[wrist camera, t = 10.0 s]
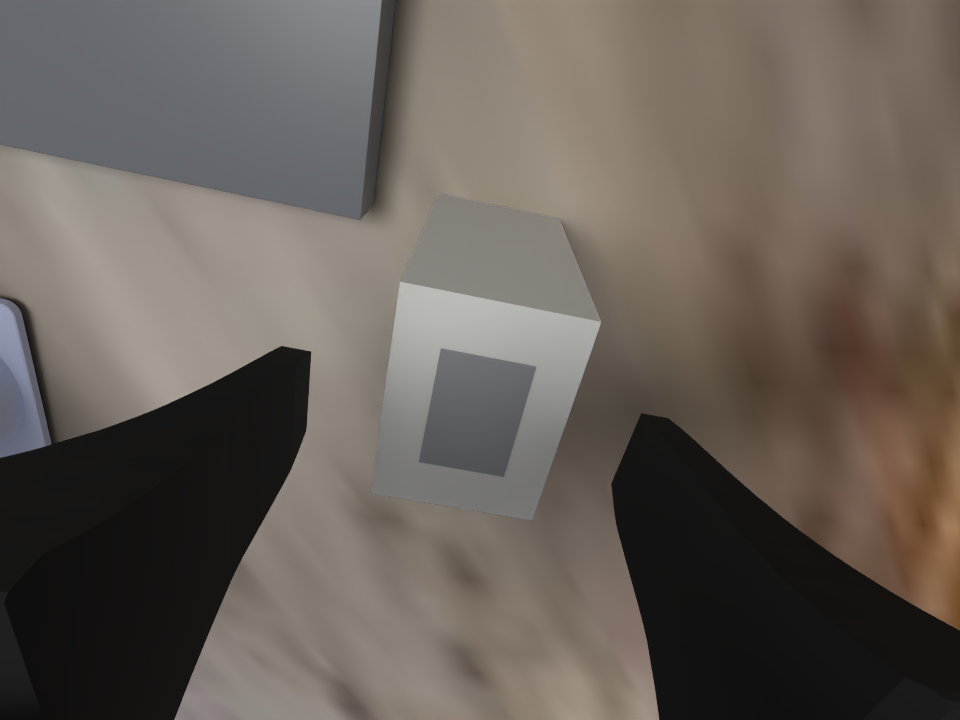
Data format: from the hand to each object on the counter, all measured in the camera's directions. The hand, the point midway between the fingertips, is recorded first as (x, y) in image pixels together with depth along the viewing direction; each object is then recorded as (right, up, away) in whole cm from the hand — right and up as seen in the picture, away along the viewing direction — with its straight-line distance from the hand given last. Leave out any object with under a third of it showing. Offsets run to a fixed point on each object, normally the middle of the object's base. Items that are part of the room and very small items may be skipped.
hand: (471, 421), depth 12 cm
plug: (0, +4, +7) cm, 8 cm away
